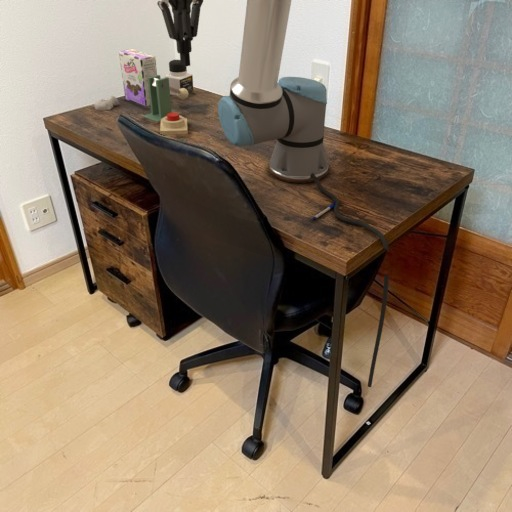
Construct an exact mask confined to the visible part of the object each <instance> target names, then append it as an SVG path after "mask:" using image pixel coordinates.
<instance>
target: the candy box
mask: <svg viewBox="0 0 512 512" xmlns="http://www.w3.org/2000/svg"><path fill="white" fill-rule="evenodd" d="M118 55H119V63H120V69H121V70H120V71H121V76H122V84H123V91H124V98H125V99H124V100H126V101H128V102H129V101H132V102H135V103H137V104H140V105H142V106H144V107H150V98H149V89H148V80H147V78H148V77H152V76H156V75H158V73H157V72H158V71H157V60H156V56H155V55H151V54H148V53H145V52H144V51H140V50H137V49H135V48H130V49H125V50H119V51H118Z"/></svg>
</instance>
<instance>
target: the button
mask: <svg viewBox="0 0 512 512" xmlns="http://www.w3.org/2000/svg"><path fill="white" fill-rule="evenodd" d="M179 113H180V112H179ZM179 113H175V112H172V113H168V114H167V120H168V121H178V120H179V116H180V114H179Z"/></svg>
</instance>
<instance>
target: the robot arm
mask: <svg viewBox="0 0 512 512" xmlns="http://www.w3.org/2000/svg"><path fill="white" fill-rule="evenodd" d="M203 3H204V0H158V1H157V3H156V4H157V6H158V8H159V9H160V10H161V13H162V17H163V22H164V23H165V24H164V25H165V27H166V30H167V35H168V37H169V39H171V40H174V41H175V42H176V51H177V53H178V54H179V59H180V62H181V65H183V66H187V67H191V56H190V54H191V53H192V51H193V50H192V41H194V38H196V37H198V32H199V31H198V30H199V24H200V23H199V22H200V16H201V7H202V6H203ZM291 5H292V0H246V6H245V7H246V8H245V14H244V15H245V17H244V23H243V24H244V26H243V34H242V42H241V52H240V60H239V69H238V70H239V71H238V76H237V77H235V78H234V79H233V80H232V81H231V83H230V89H229V95H224V96H222V97H221V98H220V99H219V100H218V104H217V114H218V118H219V123H220V126H221V128H222V131H223V133H224V135H225V137H226V138H227V140H228V142H230V143H231V144H232V145H233V146H235V147H237V148H238V147H239V148H242V147H248V146H249V147H252V146H254V145H257V144H262V143H266V142H270V141H271V142H272V141H276V143H275V146H274V148H273V151H272V154H271V157H270V160H269V163H268V166H269V167H268V170H269V173H270V175H271V176H273V177H274V178H276V179H277V180H280V181H284V182H286V183H294V184H308V183H313V182H314V183H315V185H316V186H317V188H318V189H319V191H321V192H322V193H323V194H324V195H325V196H327V197H328V198H330V199H332V200H333V201H334V202H335V201H336V202H335V207H333V214H334V216H335V217H336V218H337V219H339V220H340V221H342V222H345V223H348V224H351V225H356V226H359V227H362V228H364V229H366V230H368V231H370V232H372V233H373V234H376V236H377V237H378V238H379V239H380V242H381V244H382V246H383V249H384V250H386V251H388V250H390V247H389V244H388V241H387V239H386V237H385V235H384V234H383V233H382V232H381V231H380V230H379V229H377V228H376V227H373V226H372V225H369V224H368V223H366V222H364V221H361V220H356V219H353V218H349V217H345V216H344V215H341V214H340V213H339V208H340V200H339V198H337V196H336V195H334V193H331V191H329V190H327V189H326V188H325V187H324V186H323V185H322V183H321V180H322V179H324V178H325V177H327V176H328V173H329V161H328V157H327V153H326V149H325V145H324V135H325V126H326V125H325V124H326V123H325V122H326V112H327V104H328V99H327V94H328V91H327V87H326V86H325V84H323V83H322V82H321V81H318V80H315V79H312V78H306V77H301V76H282V77H281V78H279V75H280V69H281V64H282V58H283V52H284V45H285V40H286V35H287V29H288V22H289V18H290V11H291ZM170 7H171V9H170ZM389 279H390V274H384V275H383V289H382V292H383V293H382V301H381V307H380V315H379V321H378V326H377V332H376V336H375V337H376V338H375V343H374V348H373V353H372V358H371V364H370V367H369V368H370V369H369V375H368V379H367V380H368V381H367V387H368V388H372V386H373V379H374V375H375V369H376V364H377V358H378V353H379V348H380V343H381V339H382V333H383V328H384V323H385V316H386V309H387V302H388V295H389V284H390V283H389V281H390V280H389Z"/></svg>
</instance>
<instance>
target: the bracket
mask: <svg viewBox="0 0 512 512" xmlns="http://www.w3.org/2000/svg"><path fill="white" fill-rule="evenodd" d="M154 78H157V79H158V80H156V87H155V86H152V83H153V80H154ZM147 80H148V89H149V98H150V106H149V107H150V113H146V114H143V115H141V117H143V118H145V119H148V120H151V121H152V122H156V123H158V122H161V119H162V118H164V117H166V116H167V114H168V113H172V112H175V113H179V115H182V113H181V112H179V111H177V110H176V111H175V110H172V101H171V100H172V99H171V94H170V88H169V78H168V77H165V76H164V77H162V78H161V74H157V75H156V76H152V77H148V78H147Z"/></svg>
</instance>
